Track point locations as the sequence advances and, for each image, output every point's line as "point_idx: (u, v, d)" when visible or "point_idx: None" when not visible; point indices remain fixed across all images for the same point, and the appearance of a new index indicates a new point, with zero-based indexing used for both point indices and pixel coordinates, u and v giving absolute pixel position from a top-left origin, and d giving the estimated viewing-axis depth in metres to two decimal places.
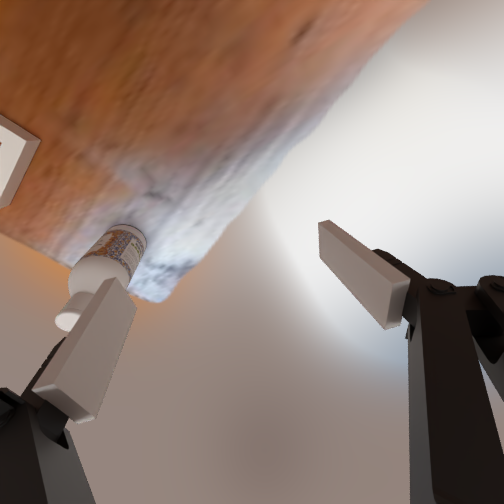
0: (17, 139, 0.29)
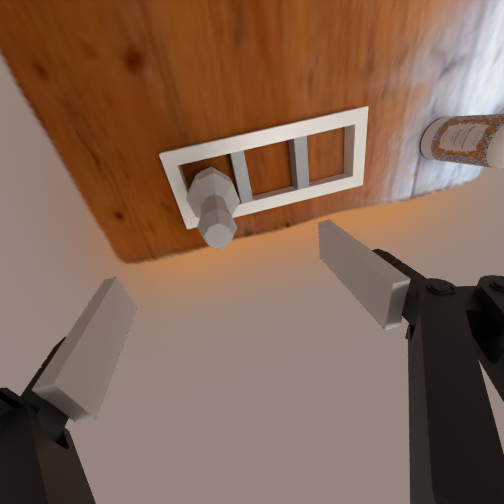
0: (362, 110, 0.34)
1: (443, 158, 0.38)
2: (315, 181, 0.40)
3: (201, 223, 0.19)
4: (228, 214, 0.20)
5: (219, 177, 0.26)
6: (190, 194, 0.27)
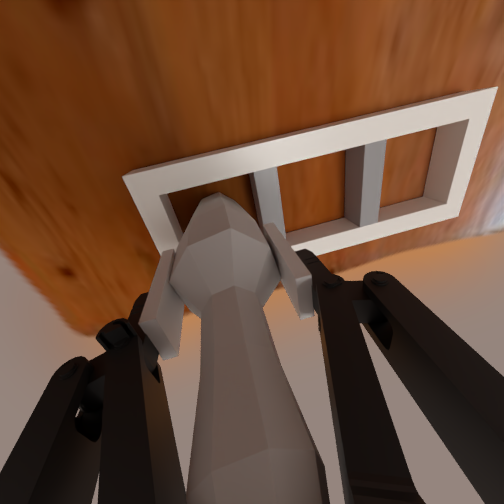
0: (487, 94, 0.19)
1: None
2: (381, 211, 0.25)
3: None
4: (305, 456, 0.05)
5: (242, 237, 0.12)
6: (176, 272, 0.12)
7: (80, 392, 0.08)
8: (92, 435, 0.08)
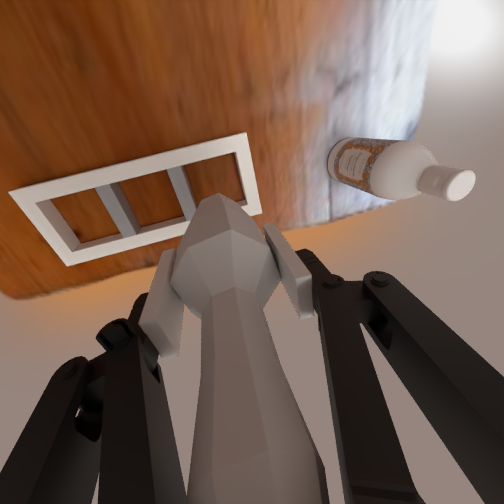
0: (240, 137, 0.30)
1: (346, 183, 0.35)
2: None
3: None
4: (305, 457, 0.05)
5: (242, 238, 0.12)
6: (177, 274, 0.12)
7: (80, 392, 0.08)
8: (92, 435, 0.08)
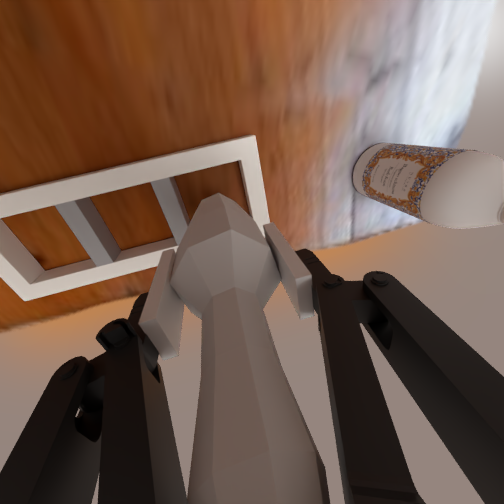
0: (248, 141, 0.23)
1: (377, 200, 0.28)
2: None
3: None
4: (306, 458, 0.05)
5: (242, 238, 0.12)
6: (177, 274, 0.12)
7: (80, 392, 0.08)
8: (92, 435, 0.08)
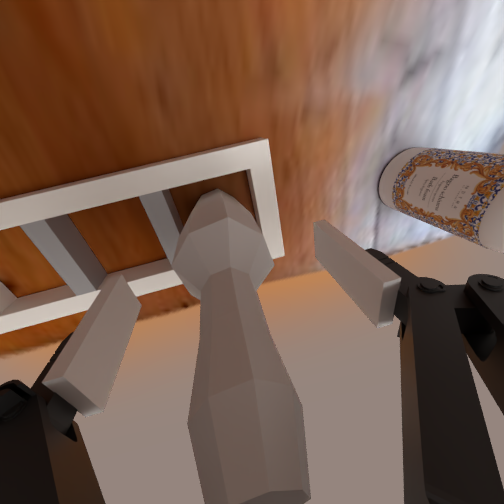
0: (259, 146, 0.19)
1: (411, 215, 0.24)
2: None
3: (198, 427, 0.06)
4: (284, 389, 0.06)
5: (238, 225, 0.13)
6: (178, 257, 0.13)
7: None
8: None
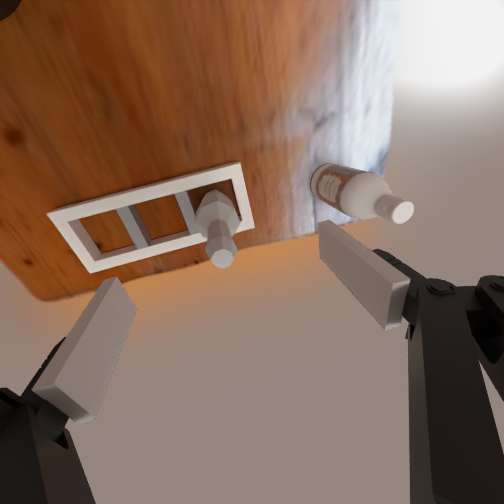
0: (235, 167, 0.37)
1: (325, 202, 0.41)
2: None
3: (208, 247, 0.24)
4: (230, 239, 0.24)
5: (222, 204, 0.31)
6: (197, 218, 0.31)
7: None
8: None
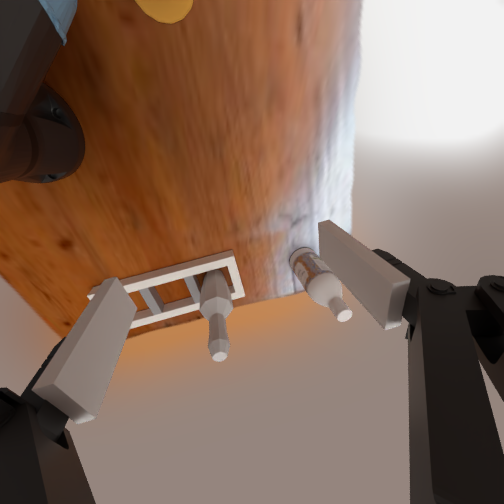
0: (230, 258, 0.49)
1: None
2: None
3: (210, 346, 0.36)
4: (225, 340, 0.36)
5: (220, 298, 0.43)
6: (202, 308, 0.43)
7: None
8: None
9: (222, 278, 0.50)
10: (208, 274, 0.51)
